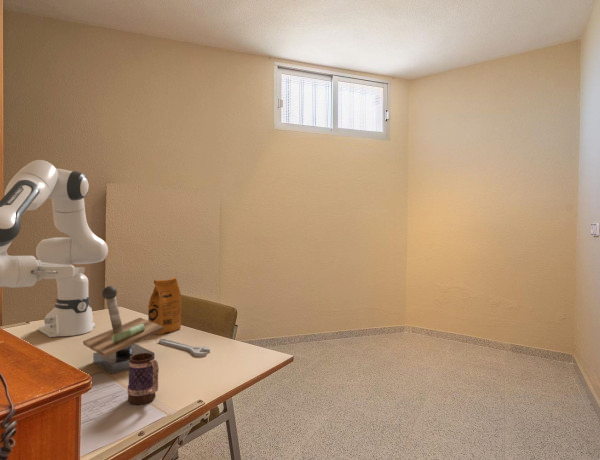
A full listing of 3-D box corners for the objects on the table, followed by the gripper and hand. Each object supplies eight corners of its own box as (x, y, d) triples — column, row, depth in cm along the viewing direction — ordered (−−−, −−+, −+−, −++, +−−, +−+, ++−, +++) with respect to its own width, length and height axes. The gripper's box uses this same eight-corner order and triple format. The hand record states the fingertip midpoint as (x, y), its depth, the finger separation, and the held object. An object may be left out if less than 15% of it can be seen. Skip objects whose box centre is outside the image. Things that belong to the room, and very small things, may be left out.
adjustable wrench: (157, 344, 152) (157, 339, 152) (171, 340, 157) (171, 335, 157) (200, 358, 137) (200, 353, 137) (214, 353, 143) (214, 348, 142)
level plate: (83, 344, 130) (71, 295, 126) (140, 320, 144) (131, 275, 141) (104, 357, 119) (92, 303, 116) (164, 329, 134) (154, 281, 130)
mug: (122, 399, 106) (122, 355, 105) (147, 390, 111) (147, 348, 111) (142, 412, 100) (142, 365, 99) (167, 402, 105) (167, 357, 105)
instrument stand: (93, 362, 131) (93, 340, 131) (134, 351, 142) (134, 330, 142) (112, 374, 122) (112, 350, 122) (154, 361, 133) (154, 339, 132)
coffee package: (144, 331, 166) (144, 279, 165) (170, 324, 176) (170, 275, 175) (157, 336, 160) (158, 282, 159) (184, 329, 170) (184, 278, 169)
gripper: (40, 261, 106) (93, 260, 117) (12, 258, 118) (62, 258, 129) (39, 285, 106) (92, 281, 117) (11, 279, 118) (61, 277, 129)
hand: (76, 269), depth 123 cm, fingers open, 8 cm apart
